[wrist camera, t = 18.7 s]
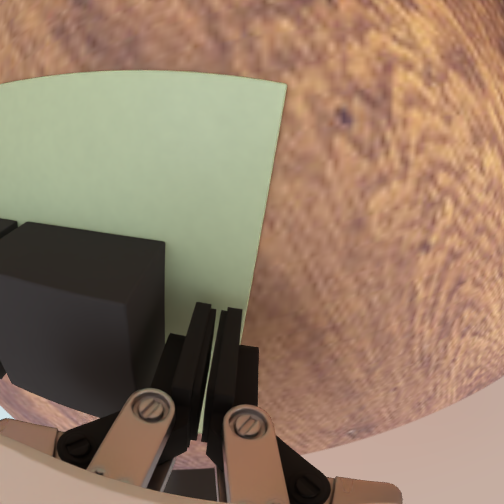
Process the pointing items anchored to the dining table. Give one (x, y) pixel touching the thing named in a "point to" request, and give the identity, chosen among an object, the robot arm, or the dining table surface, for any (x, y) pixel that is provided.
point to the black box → (81, 314)
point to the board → (149, 170)
